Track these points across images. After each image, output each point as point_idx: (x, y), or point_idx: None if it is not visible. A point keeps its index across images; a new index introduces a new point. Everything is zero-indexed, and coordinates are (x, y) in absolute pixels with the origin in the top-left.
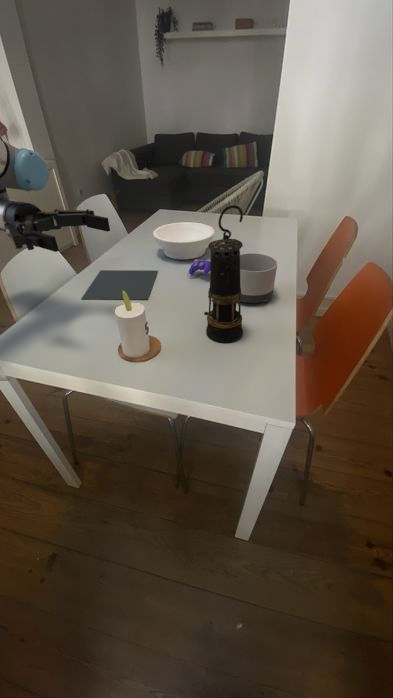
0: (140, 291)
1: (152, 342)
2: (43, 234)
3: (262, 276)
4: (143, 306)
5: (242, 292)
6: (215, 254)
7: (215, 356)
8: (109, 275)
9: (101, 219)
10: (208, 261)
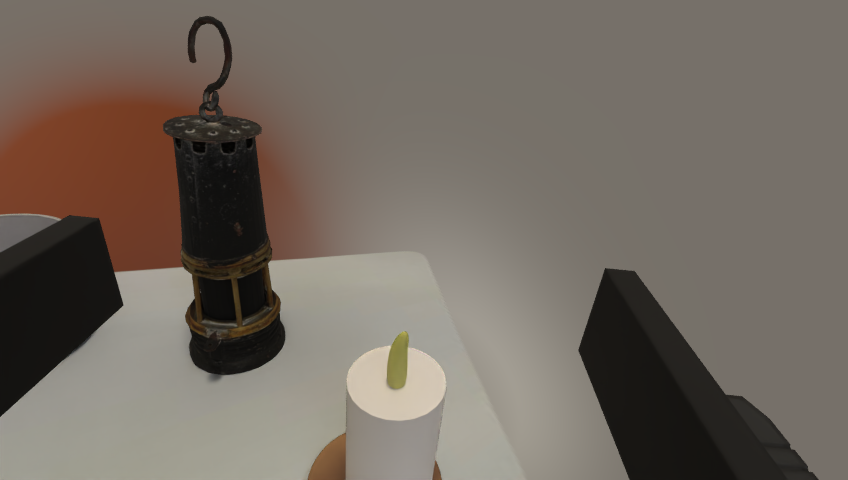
0: None
1: (340, 458)
2: (670, 347)
3: None
4: (359, 358)
5: None
6: (246, 147)
7: (334, 333)
8: None
9: (64, 253)
10: None
